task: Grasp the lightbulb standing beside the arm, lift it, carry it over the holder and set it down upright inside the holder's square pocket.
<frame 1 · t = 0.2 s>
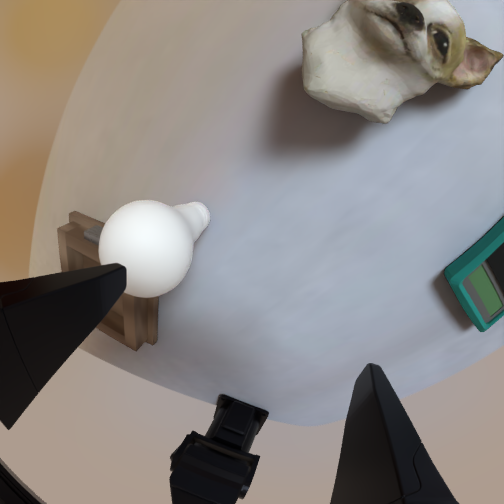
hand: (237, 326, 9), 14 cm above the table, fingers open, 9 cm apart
ceramic sculpture: (392, 51, 15), on the table
bulb holder: (113, 277, 31), on the table
lightbulb: (202, 212, 25), on the table
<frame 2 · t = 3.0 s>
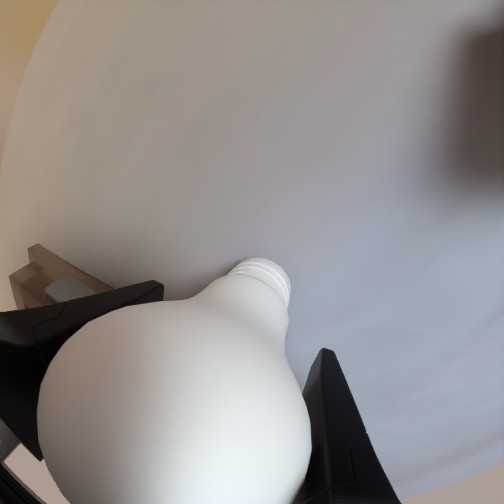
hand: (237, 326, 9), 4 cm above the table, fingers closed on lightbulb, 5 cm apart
bulb holder: (101, 347, 19), on the table
lightbulb: (266, 274, 13), on the table, touching gripper
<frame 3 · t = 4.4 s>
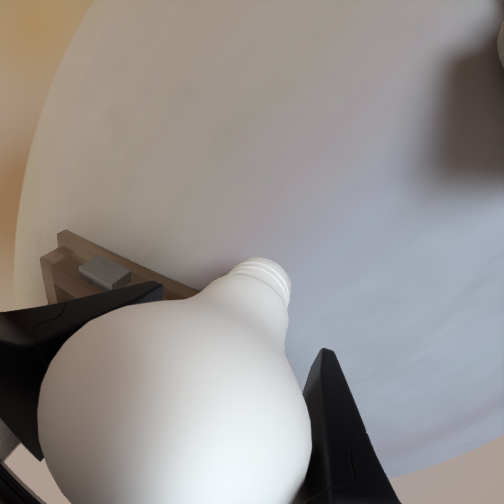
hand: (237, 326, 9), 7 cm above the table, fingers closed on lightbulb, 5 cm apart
bulb holder: (125, 325, 22), on the table
lightbulb: (266, 274, 13), point 3 cm above the table, touching gripper
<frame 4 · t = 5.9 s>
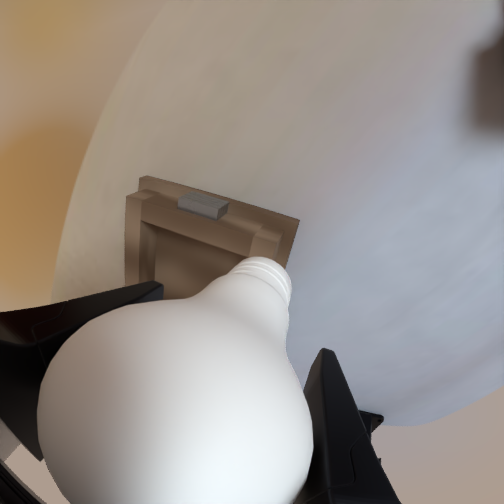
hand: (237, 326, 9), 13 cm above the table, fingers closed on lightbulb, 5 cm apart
bulb holder: (203, 267, 25), on the table
lightbulb: (267, 274, 13), point 9 cm above the table, touching gripper
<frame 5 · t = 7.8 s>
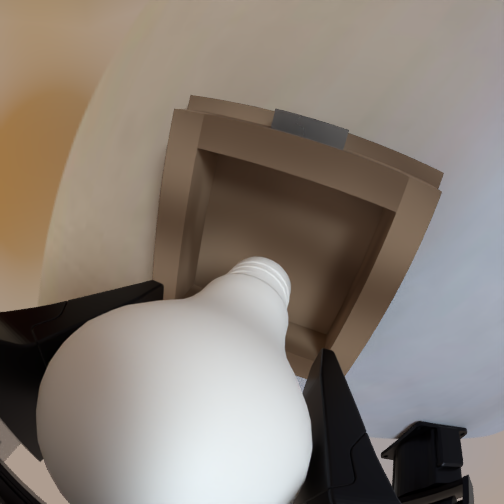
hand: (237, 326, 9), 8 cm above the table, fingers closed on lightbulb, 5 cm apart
bulb holder: (283, 240, 16), on the table
lightbulb: (266, 274, 13), point 4 cm above the table, touching gripper
when the fingers open (5 cm above the table, at t = 9.2 s): lightbulb stays where it is, resting on bulb holder.
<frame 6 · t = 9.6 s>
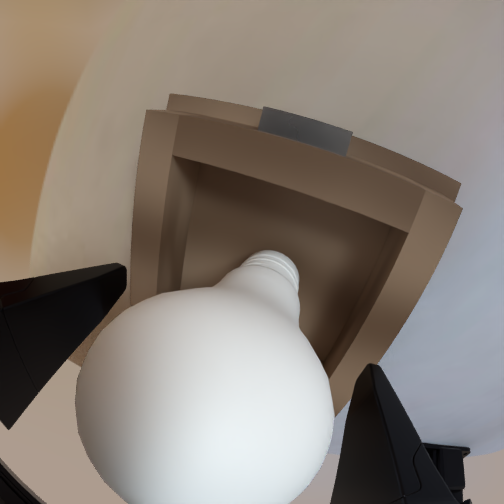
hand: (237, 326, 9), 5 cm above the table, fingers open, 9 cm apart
bulb holder: (275, 258, 14), on the table
lightbulb: (274, 266, 13), point 1 cm above the table, touching bulb holder
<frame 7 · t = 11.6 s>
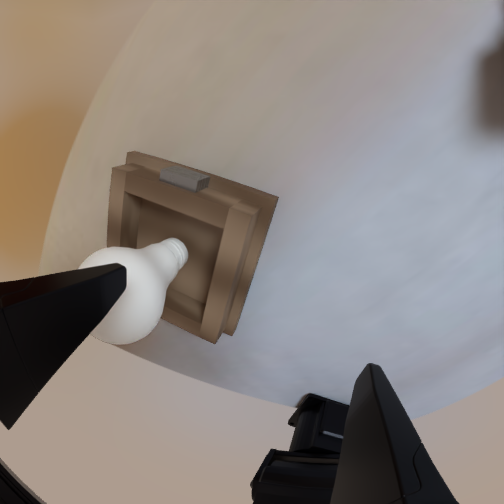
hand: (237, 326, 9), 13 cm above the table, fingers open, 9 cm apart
bulb holder: (183, 243, 25), on the table
lightbulb: (180, 247, 24), point 1 cm above the table, touching bulb holder
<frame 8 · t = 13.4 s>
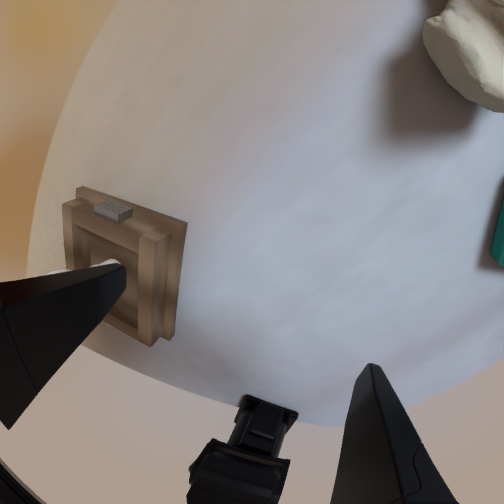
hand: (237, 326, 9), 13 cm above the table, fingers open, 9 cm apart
ceramic sculpture: (480, 39, 11), on the table
bulb holder: (125, 262, 28), on the table
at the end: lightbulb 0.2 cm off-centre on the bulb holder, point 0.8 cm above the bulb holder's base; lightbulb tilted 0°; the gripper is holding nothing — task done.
